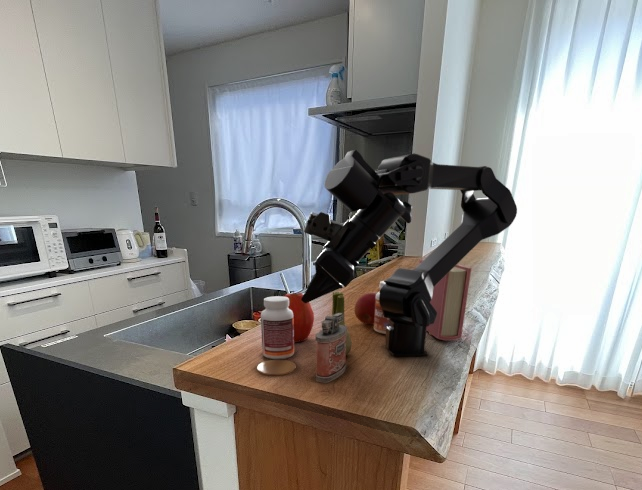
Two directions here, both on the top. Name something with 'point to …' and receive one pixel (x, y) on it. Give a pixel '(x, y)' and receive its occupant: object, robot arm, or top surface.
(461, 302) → the book
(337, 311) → the fennel bulb
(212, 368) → the top surface
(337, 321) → the lighter
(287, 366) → the gold disc
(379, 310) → the pill bottle
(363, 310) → the apple
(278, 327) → the pill bottle
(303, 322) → the apple
